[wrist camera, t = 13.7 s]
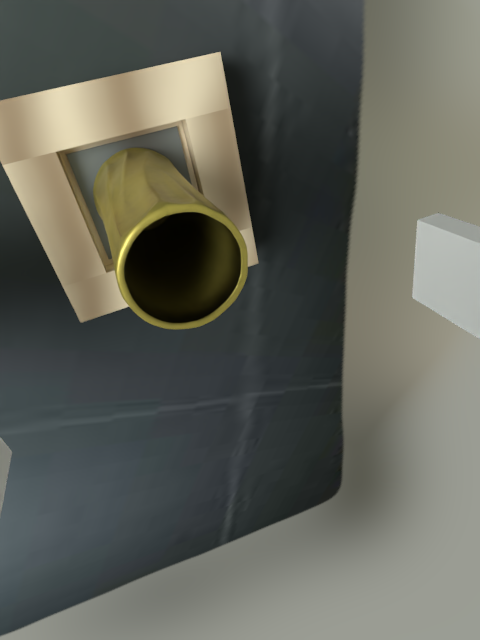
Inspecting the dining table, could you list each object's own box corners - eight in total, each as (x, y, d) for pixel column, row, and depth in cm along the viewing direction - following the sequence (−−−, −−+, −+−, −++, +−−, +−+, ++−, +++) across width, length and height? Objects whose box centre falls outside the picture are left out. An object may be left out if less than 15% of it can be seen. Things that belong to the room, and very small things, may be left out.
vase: (200, 177, 28) (286, 237, 16) (160, 253, 29) (212, 357, 18) (117, 127, 25) (149, 155, 13) (78, 215, 26) (75, 310, 14)
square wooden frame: (80, 301, 31) (80, 322, 28) (-14, 105, 24) (-27, 106, 21) (243, 249, 34) (258, 263, 31) (205, 56, 26) (220, 51, 23)
